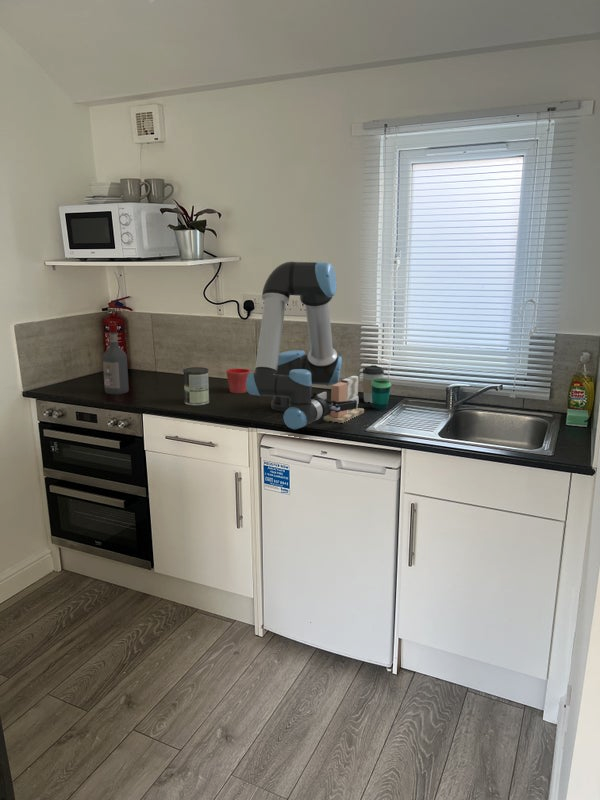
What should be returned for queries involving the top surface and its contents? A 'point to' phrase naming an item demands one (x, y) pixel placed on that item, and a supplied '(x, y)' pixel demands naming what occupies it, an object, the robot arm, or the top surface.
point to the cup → (380, 393)
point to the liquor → (115, 366)
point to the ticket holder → (351, 393)
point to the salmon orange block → (338, 396)
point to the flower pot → (237, 380)
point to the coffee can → (196, 386)
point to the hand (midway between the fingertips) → (341, 397)
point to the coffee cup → (370, 380)
